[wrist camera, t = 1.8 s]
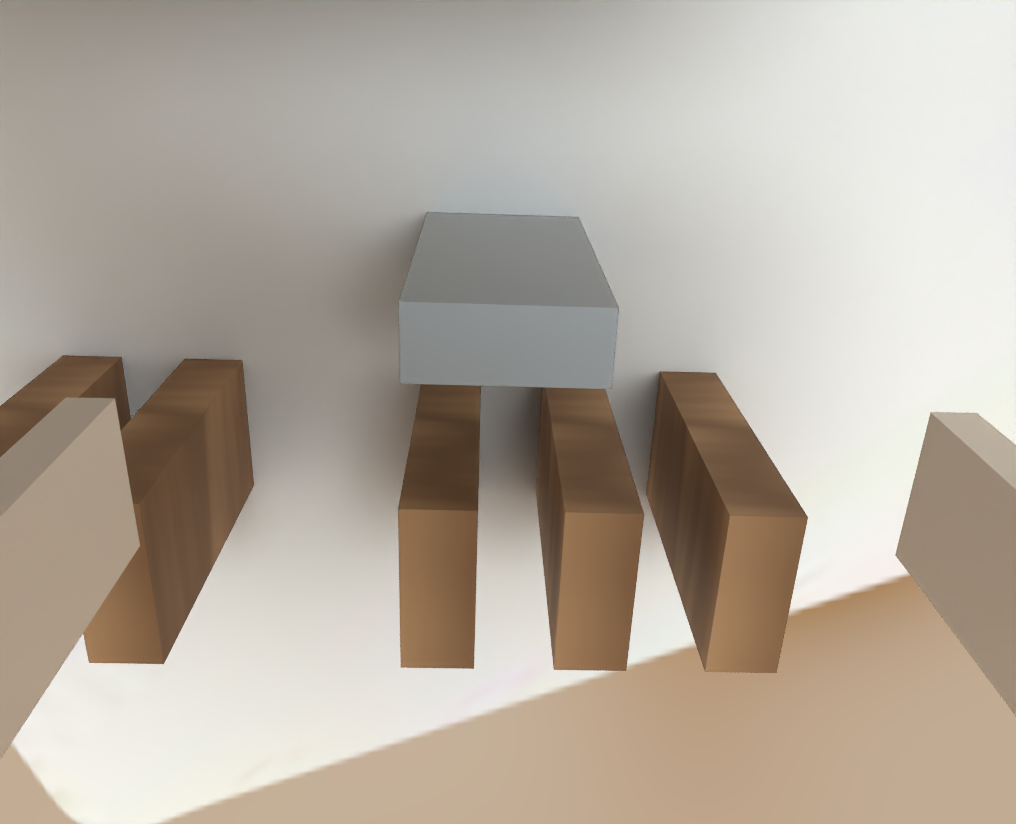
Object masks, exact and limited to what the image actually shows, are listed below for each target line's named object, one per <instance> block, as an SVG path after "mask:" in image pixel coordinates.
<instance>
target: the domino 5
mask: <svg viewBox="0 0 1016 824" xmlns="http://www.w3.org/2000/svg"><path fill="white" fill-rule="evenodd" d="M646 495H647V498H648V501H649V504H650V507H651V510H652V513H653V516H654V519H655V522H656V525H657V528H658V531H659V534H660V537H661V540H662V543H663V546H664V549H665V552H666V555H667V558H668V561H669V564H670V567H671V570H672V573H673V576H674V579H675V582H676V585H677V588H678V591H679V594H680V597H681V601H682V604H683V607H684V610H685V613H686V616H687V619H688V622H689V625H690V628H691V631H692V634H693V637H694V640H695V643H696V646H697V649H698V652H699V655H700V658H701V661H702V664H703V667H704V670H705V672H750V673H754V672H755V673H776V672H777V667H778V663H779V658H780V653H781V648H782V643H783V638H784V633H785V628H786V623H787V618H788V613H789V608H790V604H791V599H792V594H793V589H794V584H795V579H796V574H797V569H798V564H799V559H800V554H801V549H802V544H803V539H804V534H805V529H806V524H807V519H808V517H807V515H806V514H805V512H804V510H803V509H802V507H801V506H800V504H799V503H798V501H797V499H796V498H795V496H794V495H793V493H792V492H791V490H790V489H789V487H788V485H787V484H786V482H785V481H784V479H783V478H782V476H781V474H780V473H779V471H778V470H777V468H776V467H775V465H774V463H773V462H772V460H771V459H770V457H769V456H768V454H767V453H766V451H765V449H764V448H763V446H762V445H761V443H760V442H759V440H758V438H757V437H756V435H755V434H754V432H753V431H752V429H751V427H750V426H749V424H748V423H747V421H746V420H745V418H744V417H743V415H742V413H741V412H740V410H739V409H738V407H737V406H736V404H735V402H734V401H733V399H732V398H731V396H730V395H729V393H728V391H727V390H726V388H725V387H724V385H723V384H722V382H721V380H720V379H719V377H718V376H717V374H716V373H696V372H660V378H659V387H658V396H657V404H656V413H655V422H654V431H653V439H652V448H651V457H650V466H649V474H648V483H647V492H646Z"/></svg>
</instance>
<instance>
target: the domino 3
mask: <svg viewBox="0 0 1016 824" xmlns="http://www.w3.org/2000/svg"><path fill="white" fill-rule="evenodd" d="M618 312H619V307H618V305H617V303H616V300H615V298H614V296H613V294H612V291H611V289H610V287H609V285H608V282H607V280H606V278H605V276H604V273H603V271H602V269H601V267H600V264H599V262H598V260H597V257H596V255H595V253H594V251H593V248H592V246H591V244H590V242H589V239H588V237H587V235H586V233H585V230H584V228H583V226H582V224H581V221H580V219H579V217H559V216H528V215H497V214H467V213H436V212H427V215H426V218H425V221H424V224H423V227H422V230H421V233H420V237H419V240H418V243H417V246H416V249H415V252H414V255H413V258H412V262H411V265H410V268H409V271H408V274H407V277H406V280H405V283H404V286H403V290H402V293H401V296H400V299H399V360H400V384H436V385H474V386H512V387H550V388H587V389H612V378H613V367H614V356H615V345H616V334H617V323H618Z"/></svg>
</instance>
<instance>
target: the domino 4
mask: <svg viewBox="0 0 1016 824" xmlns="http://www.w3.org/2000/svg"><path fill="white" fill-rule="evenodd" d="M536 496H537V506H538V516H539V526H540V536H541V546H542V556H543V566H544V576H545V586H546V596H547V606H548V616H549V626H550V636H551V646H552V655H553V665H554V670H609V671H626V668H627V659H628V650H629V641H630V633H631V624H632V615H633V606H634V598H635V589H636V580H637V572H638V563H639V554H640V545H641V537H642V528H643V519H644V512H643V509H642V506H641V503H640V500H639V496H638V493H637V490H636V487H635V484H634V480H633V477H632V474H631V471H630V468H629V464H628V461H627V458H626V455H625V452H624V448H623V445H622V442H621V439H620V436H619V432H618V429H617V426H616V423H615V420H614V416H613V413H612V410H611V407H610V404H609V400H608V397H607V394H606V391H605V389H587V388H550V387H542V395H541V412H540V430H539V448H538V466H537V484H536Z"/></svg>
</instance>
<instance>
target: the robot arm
mask: <svg viewBox="0 0 1016 824" xmlns="http://www.w3.org/2000/svg"><path fill="white" fill-rule="evenodd" d="M139 547H140V542H139V536H138V531H137V525H136V519H135V513H134V507H133V501H132V495H131V489H130V484H129V478H128V472H127V466H126V460H125V454H124V448H123V443H122V437H121V431H120V425H119V419H118V413H117V407H116V401H115V398H70V397H66V398H65V399H64V400H63V401H62V402H60V403H59V404H58V405H57V406H56V407H55V408H54V409H53V410H52V411H51V412H49V413H48V414H47V415H46V416H45V417H44V418H43V419H42V420H41V421H40V422H39V423H37V424H36V425H35V426H34V427H33V428H32V429H31V430H30V431H29V432H28V433H26V434H25V435H24V436H23V437H22V438H21V439H20V440H19V441H18V442H17V443H15V444H14V445H13V446H12V447H11V448H10V449H9V450H8V451H7V452H6V453H5V454H3V455H2V456H1V457H0V759H1V758H2V756H3V755H4V753H5V752H6V750H7V749H8V747H9V746H10V744H11V743H12V741H13V739H14V738H15V736H16V735H17V733H18V732H19V730H20V729H21V727H22V726H23V724H24V723H25V721H26V720H27V718H28V717H29V715H30V713H31V712H32V710H33V709H34V707H35V706H36V704H37V703H38V701H39V700H40V698H41V697H42V695H43V694H44V692H45V690H46V689H47V687H48V686H49V684H50V683H51V681H52V680H53V678H54V677H55V675H56V674H57V672H58V671H59V669H60V668H61V666H62V664H63V663H64V661H65V660H66V658H67V657H68V655H69V654H70V652H71V651H72V649H73V648H74V646H75V645H76V643H77V642H78V640H79V638H80V637H81V635H82V634H83V632H84V631H85V629H86V628H87V626H88V625H89V623H90V622H91V620H92V619H93V617H94V615H95V614H96V612H97V611H98V609H99V608H100V606H101V605H102V603H103V602H104V600H105V599H106V597H107V596H108V594H109V593H110V591H111V589H112V588H113V586H114V585H115V583H116V582H117V580H118V579H119V577H120V576H121V574H122V573H123V571H124V570H125V568H126V567H127V565H128V563H129V562H130V560H131V559H132V557H133V556H134V554H135V553H136V551H137V550H138V548H139ZM896 556H897V558H898V559H899V560H900V562H901V563H902V565H903V566H904V567H905V569H906V570H907V571H908V573H909V574H910V575H911V577H912V578H913V579H914V581H915V582H916V583H917V585H918V586H919V587H920V588H921V590H922V591H923V593H924V594H925V595H926V597H927V598H928V599H929V601H930V602H931V603H932V605H933V606H934V607H935V609H936V610H937V611H938V613H939V614H940V615H941V617H942V618H943V619H944V621H945V622H946V623H947V625H948V626H949V627H950V629H951V630H952V631H953V633H954V634H955V635H956V637H957V638H958V639H959V641H960V642H961V643H962V645H963V646H964V647H965V649H966V650H967V651H968V653H969V654H970V656H971V657H972V658H973V659H974V661H975V662H976V663H977V665H978V666H979V668H980V669H981V670H982V672H983V673H984V674H985V676H986V677H987V678H988V680H989V681H990V682H991V684H992V685H993V686H994V688H995V689H996V690H997V692H998V693H999V694H1000V696H1001V697H1002V698H1003V700H1004V701H1005V702H1006V704H1007V705H1008V706H1009V708H1010V709H1011V710H1012V712H1013V713H1014V714H1015V716H1016V445H1015V444H1014V443H1013V442H1012V441H1010V440H1009V439H1008V438H1007V437H1005V436H1004V435H1003V434H1002V433H1001V432H999V431H998V430H997V429H996V428H995V427H993V426H992V425H991V424H990V423H988V422H987V421H986V420H985V419H984V418H982V417H981V416H980V415H979V414H978V413H945V412H931V413H930V417H929V421H928V425H927V429H926V433H925V437H924V441H923V445H922V450H921V454H920V458H919V462H918V466H917V470H916V474H915V478H914V482H913V486H912V490H911V494H910V498H909V502H908V506H907V510H906V514H905V518H904V522H903V527H902V531H901V535H900V539H899V543H898V547H897V551H896Z"/></svg>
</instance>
